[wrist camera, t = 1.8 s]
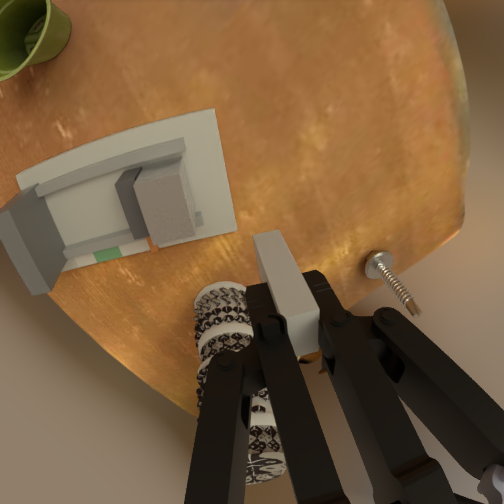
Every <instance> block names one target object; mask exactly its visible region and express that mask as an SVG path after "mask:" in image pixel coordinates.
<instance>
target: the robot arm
mask: <svg viewBox="0 0 504 504" xmlns="http://www.w3.org/2000/svg"><path fill="white" fill-rule="evenodd" d="M253 241H254V247H255V253H256V259H257V264H258V270H259V275H260V278H261V281H262V283H260V284H256V285H252V286H247V288H246V291H245V294H244V295H245V300H246V304H247V309H248V313H249V318H250V322H251V326H252V330H253V339H252V341H251V342H250V343H249V345H248V346H246V347H245V348H243V349H241V350H239V351H237V352H236V351H234V350H222V351H220V352H218V353H216V354H215V355H214V356H213V357H212V358H211V360H210V362H209V366H208V371H207V377H206V382H205V387H204V392H203V398H202V403H201V409H200V414H199V420H198V425H197V431H196V436H195V442H194V448H193V453H192V459H191V465H190V471H189V477H188V483H187V489H186V495H185V501H184V504H244V495H245V484H246V473H247V461H248V449H249V436H250V424H251V411H252V398H253V394H255V393H257V392H258V391H260V390H262V389H264V388H267V392H268V396H269V400H270V403H271V407H272V411H273V415H274V419H275V423H276V427H277V431H278V434H279V438H280V442H281V446H282V450H283V453H284V457H285V461H286V465H287V468H288V472H289V476H290V479H291V483H292V486H293V490H294V494H295V498H296V501H297V504H351V503H350V501H349V499H348V498H347V497H346V495H345V494H344V492H343V489H342V486H341V483H340V480H339V477H338V475H337V472H336V469H335V466H334V463H333V460H332V457H331V454H330V452H329V449H328V446H327V443H326V440H325V437H324V434H323V432H322V429H321V426H320V423H319V420H318V417H317V414H316V412H315V409H314V406H313V403H312V400H311V397H310V395H309V391H308V389H307V386H306V383H305V380H304V377H303V375H302V372H301V369H300V366H299V363H298V360H297V358H296V357H299V356H302V355H306V354H310V353H313V352H317V351H319V346H320V348H321V350H322V370H323V369H324V368H326V370H327V372H328V375H329V377H330V380H331V382H332V385H333V387H334V389H335V392H336V394H337V397H338V399H339V402H340V404H341V407H342V409H343V412H344V414H345V417H346V419H347V422H348V424H349V427H350V429H351V432H352V434H353V437H354V440H355V442H356V445H357V447H358V450H359V452H360V455H361V457H362V460H363V463H364V465H365V468H366V471H367V473H368V476H369V479H370V481H371V484H372V487H373V498H374V502H375V504H483V503H480V502H478V501H474V500H472V499H469V498H466V497H464V496H460V495H458V494H456V493H453V491H452V489H451V487H450V484H449V482H448V480H447V478H446V476H445V473H444V471H443V469H442V467H441V465H440V464H439V462H438V461H437V460H435V459H433V458H431V457H429V456H428V455H427V453H426V451H425V449H424V447H423V445H422V443H421V441H420V439H419V437H418V435H417V433H416V430H415V428H414V426H413V425H412V423H411V420H410V418H409V416H408V414H407V412H406V411H405V409H404V407H403V405H402V403H401V401H400V399H399V397H400V398H401V399H402V400H403V401H404V402H405V404H406V405H407V406H408V407H409V408H410V409H411V410H412V411H413V413H414V414H415V415H416V416H417V417H418V418H419V419H420V420H421V421H422V423H423V424H424V425H425V426H426V427H427V428H428V429H429V430H430V432H431V433H432V434H433V435H434V436H435V437H436V438H437V439H438V441H440V443H441V444H442V445H443V446H444V447H445V449H446V450H447V451H448V452H449V453H450V454H451V455H452V457H453V458H454V459H455V460H456V461H457V462H458V463H459V465H460V466H461V467H462V468H463V469H465V471H466V472H468V473H469V474H470V475H472V476H473V477H475V478H477V479H478V480H480V483H479V484H478V487H477V491H478V492H479V493H480V494H483V495H484V496H485V497H486V498H487V500H488V502H489V504H504V410H503V409H502V408H501V407H500V406H499V405H498V404H497V403H496V402H495V401H494V400H493V399H492V398H491V397H490V396H489V395H488V394H487V393H486V392H485V391H484V390H483V389H482V388H481V387H480V386H479V385H478V384H477V383H476V382H475V381H474V380H472V378H471V377H469V375H468V374H466V373H465V372H464V371H463V370H462V369H461V368H460V367H459V366H458V365H457V364H456V363H455V362H454V361H453V360H452V359H451V358H450V357H449V356H447V355H446V354H445V353H444V352H443V351H442V350H441V349H440V348H439V347H438V346H437V345H436V344H435V343H433V342H432V341H431V340H430V339H429V338H428V337H427V336H426V335H424V333H422V332H421V331H420V330H419V329H418V328H417V327H416V326H415V325H414V324H412V323H411V322H410V321H409V320H408V319H407V318H405V317H404V316H403V315H402V314H401V313H400V312H399V311H397V310H396V309H394V308H390V307H382V308H380V309H378V310H376V311H375V312H374V315H373V316H362V317H361V316H354V315H352V314H351V312H349V311H347V310H345V309H344V308H343V307H342V305H341V303H340V302H339V300H338V298H337V296H336V295H335V293H334V291H333V290H332V289H331V286H330V284H329V283H328V281H327V279H326V278H325V276H324V275H323V274H322V273H320V272H319V271H317V270H313V271H309V272H305V273H301V271H300V269H299V267H298V266H297V264H296V262H295V260H294V258H293V256H292V254H291V252H290V250H289V248H288V246H287V244H286V242H285V240H284V239H283V237H282V235H281V233H280V231H279V230H274V231H269V232H264V233H260V234H255V235H253ZM398 396H399V397H398Z"/></svg>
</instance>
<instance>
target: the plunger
mask: <svg viewBox="0 0 504 504" xmlns="http://www.w3.org/2000/svg"><path fill="white" fill-rule="evenodd" d="M133 187H134V190H135V193H136V196H137V199H138V202H139V205H140V208H141V211H142V214H143V217H144V220H145V223H146V226H147V229H148V232H149V234H150V237H151V240H152V243H153V245H158V244H163V243H167V242H171V241H175V240H180V239H184V238H189V237H193V236H196V232H195V205H194V201H193V197H192V193H191V189H190V185H189V181H188V177H187V173H186V169H185V165H184V161H183V156H178V157H174V158H170V159H166V160H162V161H159V162H155V163H151V164H147V165H144V167H143V169H142V170H141V172H140V174H139V176H138V178H137V179H136V181H135V183H134V185H133Z"/></svg>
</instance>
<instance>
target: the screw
mask: <svg viewBox="0 0 504 504" xmlns="http://www.w3.org/2000/svg"><path fill="white" fill-rule="evenodd" d="M366 261H367V262H366V265H365V274H366V275H367V277H368V278H370V279H378V278H382V280H383V281H384V282H385V283H386V284H387V286H388V287H389V288H390V290H391V291H392V292H393V294H394V295H395V297H397V299H398V300H399V302H400V303H401V305H403V306H404V308H407V309H408V311H409V312H410V313H411V315H412V316H413V318H417V317H419V316H420V315H421V313H422V311H421V310H420V308H419V307H418V306H417V305H416V303H415V302H414V300H413V297H411V293H409V291H408V290H407V288H405V286H404V285H402V282H400V280H399V279H398V277H396V275H395V274H394V272H392V270H391V267H392V265H393V256H392V254H391V253H390V252H388V251H384V250H383V251H372V252H371V253H370V254H369V255H368V256H367V257H366Z"/></svg>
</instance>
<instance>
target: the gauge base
mask: <svg viewBox="0 0 504 504" xmlns="http://www.w3.org/2000/svg"><path fill="white" fill-rule="evenodd" d="M178 156H183V161H184V165H185V169H186V173H187V177H188V181H189V185H190V189H191V193H192V197H193V201H194V205H195V232H196V236H193V237H189V238H184V239H180V240H175V241H171V242H167V243H163V244H158V247H159V248H163V247H167V246H171V245H176V244H180V243H184V242H189V241H193V240H198V239H202V238H207V237H211V236H216V235H220V234H225V233H229V232H234V231H238V229H237V224H236V219H235V214H234V209H233V204H232V199H231V193H230V188H229V183H228V178H227V173H226V168H225V162H224V157H223V152H222V147H221V141H220V136H219V131H218V125H217V120H216V115H215V109H214V107H212V108H207V109H202V110H197V111H193V112H189V113H184V114H180V115H176V116H172V117H168V118H164V119H160V120H157V121H153V122H150V123H146V124H143V125H139V126H136V127H133V128H129V129H126V130H123V131H120V132H117V133H114V134H111V135H108V136H105V137H102V138H99V139H96V140H94V141H91V142H88V143H86V144H83V145H80V146H78V147H75V148H73V149H70V150H68V151H65V152H63V153H60V154H58V155H56V156H53V157H51V158H49V159H47V160H44V161H42V162H40V163H38V164H36V165H33V166H31V167H29V168H27V169H25V170H23V171H21V172H20V173H18V174H17V175H15V176H16V179H17V182H18V185H19V187H20V190H21V191H20V192H19V193H18V194H16V195H15V196H14V197H13V198H12V199H11V200H10V201H8V202H7V203H6V204H5V205H4V206H3V207H2V208H1V209H0V239H1V241H2V243H3V245H4V247H5V249H6V251H7V253H8V255H9V257H10V258H11V260H12V262H13V264H14V266H15V267H16V269H17V271H18V273H19V274H20V276H21V278H22V280H23V281H24V283H25V285H26V286H27V288H28V289H29V290H30V293H31V294H32V296H34V295H38V294H43V293H48V292H51V291H52V289H53V287H54V285H55V283H56V281H57V279H58V277H59V275H60V273H61V272H64V271H68V270H72V269H76V268H80V267H84V266H88V265H92V264H96V263H100V262H104V261H108V260H112V259H116V258H120V257H124V256H129V255H133V254H137V253H141V252H145V251H150V247H149V245H148V242H147V239H146V237H145V238H141V239H137V240H134V238H133V235H132V233H131V230H130V227H129V225H128V222H127V219H126V217H125V214H124V211H123V208H122V205H121V203H120V200H119V197H118V194H117V191H116V188H115V185H114V184H115V183H116V182H117V180H118V179H119V177H120V176H121V175H122V173H123V172H124V171H127V170H130V169H133V168H137V167H140V166H142V169H143V167H144V165H147V164H151V163H155V162H159V161H162V160H166V159H170V158H174V157H178Z"/></svg>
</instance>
